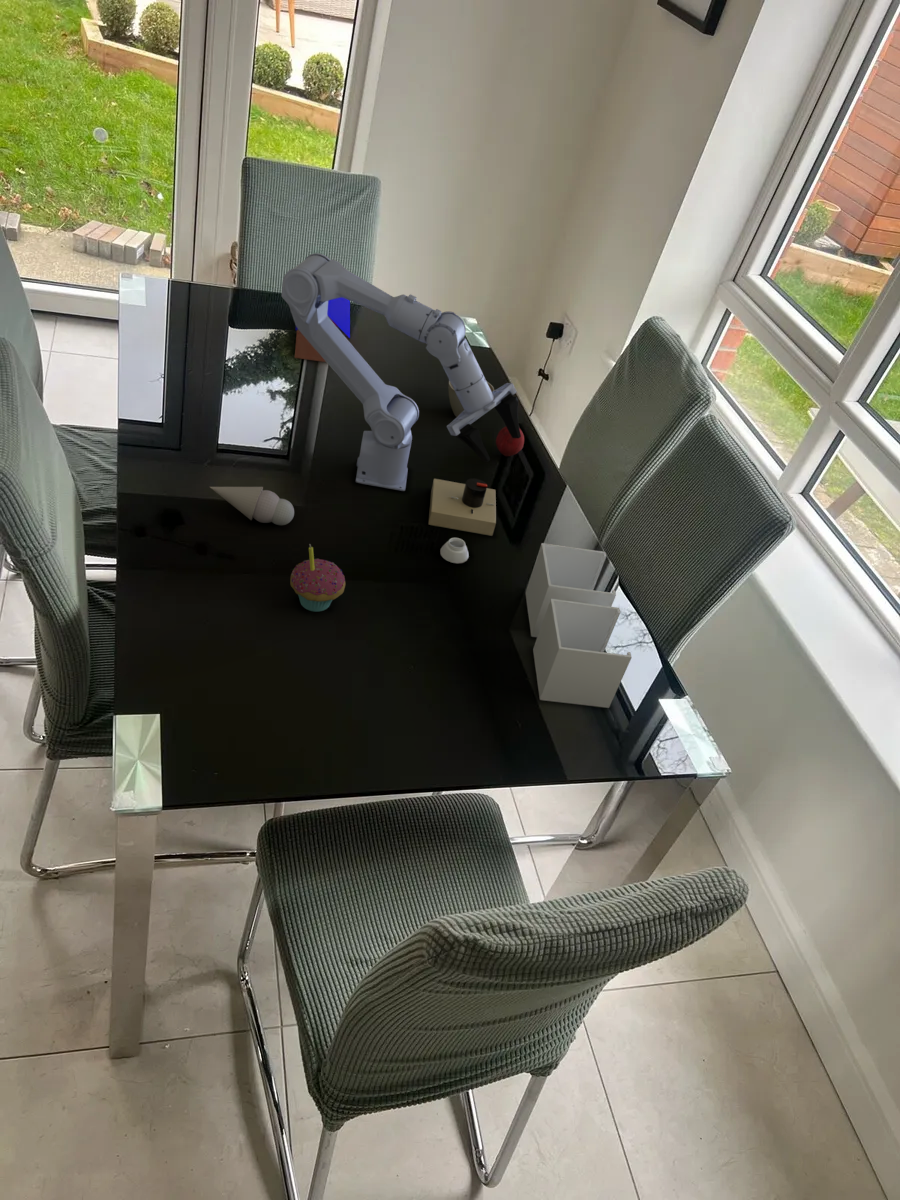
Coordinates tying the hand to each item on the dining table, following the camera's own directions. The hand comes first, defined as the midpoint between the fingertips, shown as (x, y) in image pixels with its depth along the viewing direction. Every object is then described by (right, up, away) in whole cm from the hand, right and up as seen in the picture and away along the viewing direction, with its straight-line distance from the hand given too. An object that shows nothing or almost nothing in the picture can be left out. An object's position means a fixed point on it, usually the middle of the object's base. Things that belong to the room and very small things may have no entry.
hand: (501, 448), depth 165 cm
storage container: (+9, -35, -16) cm, 40 cm away
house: (-40, +33, +48) cm, 70 cm away
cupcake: (-31, -28, -20) cm, 46 cm away
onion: (+2, +2, +25) cm, 26 cm away
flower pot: (-6, +13, +35) cm, 38 cm away
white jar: (-9, -20, -4) cm, 22 cm away
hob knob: (-5, -9, +5) cm, 11 cm away
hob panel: (-7, -11, +6) cm, 15 cm away
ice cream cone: (-44, -13, -7) cm, 46 cm away
